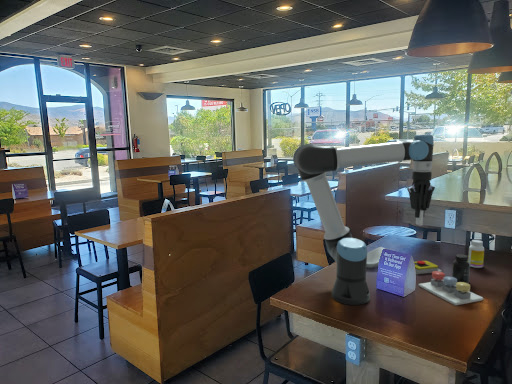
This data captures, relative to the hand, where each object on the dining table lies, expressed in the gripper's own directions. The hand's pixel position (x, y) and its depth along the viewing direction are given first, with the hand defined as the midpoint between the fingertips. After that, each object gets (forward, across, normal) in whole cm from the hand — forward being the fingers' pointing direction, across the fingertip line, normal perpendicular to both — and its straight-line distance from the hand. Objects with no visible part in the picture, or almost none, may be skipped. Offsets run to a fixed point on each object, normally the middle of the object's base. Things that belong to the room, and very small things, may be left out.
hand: (419, 224), depth 167 cm
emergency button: (+27, +14, +12) cm, 33 cm away
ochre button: (+24, +5, -20) cm, 32 cm away
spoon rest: (+27, -2, +28) cm, 39 cm away
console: (+26, +5, -14) cm, 30 cm away
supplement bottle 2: (+27, +42, +7) cm, 50 cm away
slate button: (+24, +5, -14) cm, 28 cm away
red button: (+24, +5, -8) cm, 26 cm away
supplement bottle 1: (+27, +19, -6) cm, 33 cm away
